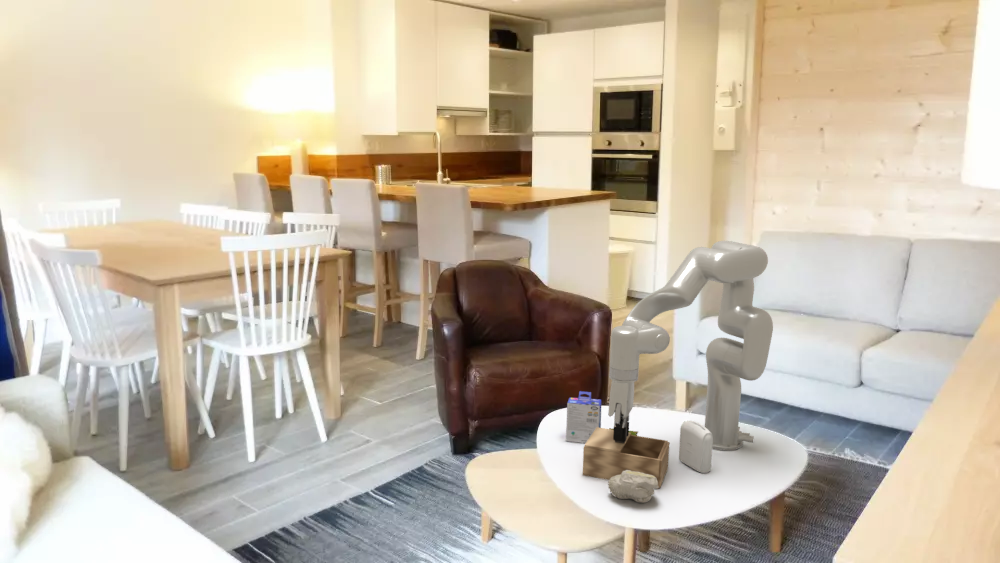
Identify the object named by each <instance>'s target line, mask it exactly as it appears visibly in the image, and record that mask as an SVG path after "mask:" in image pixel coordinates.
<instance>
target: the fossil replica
mask: <svg viewBox="0 0 1000 563" xmlns="http://www.w3.org/2000/svg"><path fill="white" fill-rule="evenodd" d="M607 485H608V489H609V492H610V493H611V495H612V496H614V497H615V498H618V499H622V500H629V499H630V500H633V501H635V502H637V503H639V504H640V503H648V502H649V501H650V500H651V499H652V496H653V495H654V494H655V490H658V489H660V488H659V486H658V481H657V478H656V477H655V476H653V475H649V474H644V473H640V472H635V471H631V470H625V471H623V472H622V474H621V475H616V476H614V477H611V478H610V479H609V480H608V484H607ZM657 488H658V489H657Z"/></svg>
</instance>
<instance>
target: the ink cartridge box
mask: <svg viewBox="0 0 1000 563" xmlns="http://www.w3.org/2000/svg"><path fill="white" fill-rule="evenodd" d="M583 395H587V396H583ZM596 427H599V428H602V399H597V398H592V392H591V391H582V390H579V392H578V397H569V398H568V401H567V403H566V427H565V428H566V429H565V430H566V431H565V432H566V433H565V434H566V436H565V441H566V442H570V443H572V442H573V443H581V444H586V442H587V441H588V439H589V438H590V436H591V435H592V433H593V432H594V430H595V429H596Z"/></svg>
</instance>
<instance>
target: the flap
mask: <svg viewBox="0 0 1000 563" xmlns="http://www.w3.org/2000/svg"><path fill="white" fill-rule="evenodd" d="M621 416H623V415H622V414H621ZM620 420H622V422H623V419H620ZM627 420H628V416H627V417H626V419H625V427H626V440H625V442H621V441H615V440H613V434H614V430H611V429H612V428H611V429H609V428H604V427H601V428H599V427H596V429H595V430H594V432H593V433H592V435H591V436H590V438H589V439H588V441H587V442H586V443H584V446H585V447H587V448H593V449H599V450H605V451H611V452H617V453H620V452H621V451H622V449H623V447H624V445H625V444H626V442H627V440H628V438H629V436H630V434H631V433H630V432H629V435H628V436H627V422H628V421H627Z"/></svg>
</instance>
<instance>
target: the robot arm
mask: <svg viewBox="0 0 1000 563" xmlns="http://www.w3.org/2000/svg"><path fill="white" fill-rule="evenodd" d="M768 262H769V258H768V254H767V252H766V251H765V250H764V249H763V248H762V247H760V246H756V245H752V244H747V243H741V242H736V241H732V240H731V241H730V240H719V241H716V242H714V243H713V245H712V246H711V247H704V246H701V247H699V246H698V247H695V248H693V249H692V250H691V251H690V252H689V253H688V254H687V255H686V257H685V258H684V260H683V261H682V262H681V264H679V266H678V268H677V269H676V271H675V272H674V273H673V275H672V276H671V277H670V278H669V280H668V282H667V283H666V284H665V285H664V286H663V287H661V288H659V289H658V290H655V291H654V292H651V293H650V294H648V295H647V296H645V297H643V298H642V299H641V300H639V301H638V302H637V303H636V304H635V305H634V306H633V308H632V309H631V310H630V311H629V313H628V314H627V316H626V317H625V318H624V320H623V323H622V325H617V326H615V327H614V328H612V330H611V334H610V354H609V379H610V380H611V383H610V392H609V403H608V416H609V417H610V418H611V417H614V420H613V421H614V422H613V429H614V434H613V440H615V441H621V442H625V440H626V427H625V419H626V417H627V416H628V420H627V436H628V435H629V431H630V422H629V421H630V413H631V412H632V410H633V407H634V400H635V383H636V382H637V381H638V380H639V372H640V370H639V369H640V368H639V365H640V355H644V354H645V355H646V354H647V355H655V354H659V353H662V352H663V351H666V349H667V348H668V347H669V345H670V342H671V340H670V338H671V337H670V334H669V332H668V331H667V330H666V329H665V328H664V327H662V326H660V325H657V324H654V323H652V322H651V321H652V320H653V319H654V318H656V317H658V316H659V315H661V314H662V313H666V312H668V311H674V310H679V309H684V308H687V307H689V306H691V305H692V304H693V302H695V300H696V298H697V297H698V295H699V294H700V293H701V291H702V290H703V288H704V287H705V286H706V284H707V283H708V282H710V281H712V282H716V283H721V284H722V292H721V299H720V304H719V305H720V306H719V310H718V317H717V327H718V329H719V330H720V331H722V332H723V333H724V334H727V335H730V336H733V337H736V338H738V339H743V342H741V341H739V340H735V339H732V338H728V337H717V338H714V339H712V340H711V341H710V342H709V343H708V345H707V347H706V352H705V359H706V360H705V362H706V367H707V368H706V369H707V386H706V387H707V388H706V400H705V402H706V404H705V414H704V415H705V416H704V427H706V428H707V429H708V430H709V431H710V432H711V433H712V435H713V445H712V450H716V451H735V450H738V449H740V448H742V446H743V442H745V443H746V442H747V443H751V444H752V443H753V444H754V440H755V439H754V437H755V436H754V435H751V434H750V432H743V431H741V427H740V426H739V424H740V423H739V422H740V410H741V408H740V407H741V398H742V397H741V396H742V382H741V379H743V380H745V381H750V382H751V381H752V382H753V381H756V380H758V379H760V377H762V375H763V373H764V372H765V370H766V367H767V362H768V358H769V353H770V348H771V343H772V338H773V331H774V324H773V323H774V322H773V318H772V316H771V315H770V313H769V312H768V311H767V310H765V309H762V308H759V307H756V306H753V300H754V292H755V282H754V279H755V278H758V277H759V276H760V275H762V274H763V273H764V272H765V270H766V269H767V267H768ZM621 414H622V415H623V416H621ZM613 415H614V416H613ZM620 419H623V422H622V420H620Z"/></svg>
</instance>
